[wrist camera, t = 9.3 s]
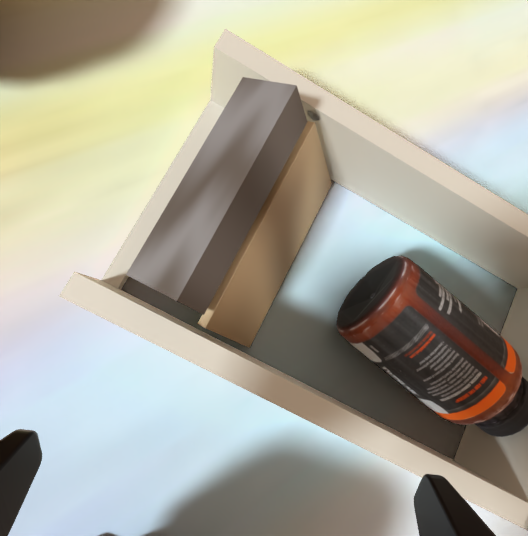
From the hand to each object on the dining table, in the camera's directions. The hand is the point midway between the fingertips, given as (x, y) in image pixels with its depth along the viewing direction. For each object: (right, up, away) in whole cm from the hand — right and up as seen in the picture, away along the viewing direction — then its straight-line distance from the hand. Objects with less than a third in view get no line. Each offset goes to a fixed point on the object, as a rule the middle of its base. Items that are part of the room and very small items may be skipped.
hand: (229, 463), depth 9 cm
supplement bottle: (+7, +3, +13) cm, 15 cm away
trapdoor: (-1, +7, +13) cm, 15 cm away
